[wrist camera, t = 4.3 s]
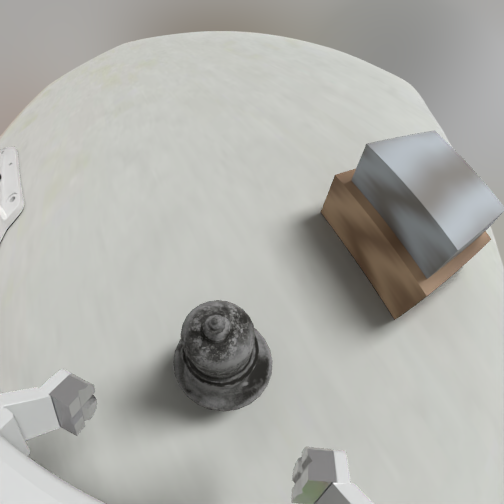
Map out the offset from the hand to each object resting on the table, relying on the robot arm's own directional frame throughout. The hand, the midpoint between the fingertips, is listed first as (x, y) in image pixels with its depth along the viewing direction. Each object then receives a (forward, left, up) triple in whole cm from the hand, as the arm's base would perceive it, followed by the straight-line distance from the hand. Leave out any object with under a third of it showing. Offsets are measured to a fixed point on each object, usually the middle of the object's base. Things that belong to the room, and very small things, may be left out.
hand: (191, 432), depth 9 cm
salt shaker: (-3, +2, -10) cm, 11 cm away
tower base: (-6, +22, -10) cm, 25 cm away
